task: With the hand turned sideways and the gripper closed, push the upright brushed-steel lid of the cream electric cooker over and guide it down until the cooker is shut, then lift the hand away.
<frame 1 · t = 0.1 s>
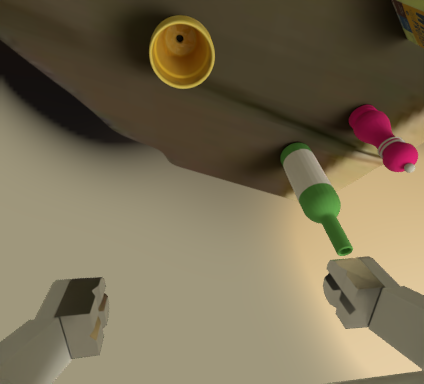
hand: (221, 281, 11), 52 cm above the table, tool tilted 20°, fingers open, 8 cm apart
wine bottle: (293, 152, 75), on the table
pepper mill: (361, 115, 69), on the table
plant pot: (180, 37, 53), on the table
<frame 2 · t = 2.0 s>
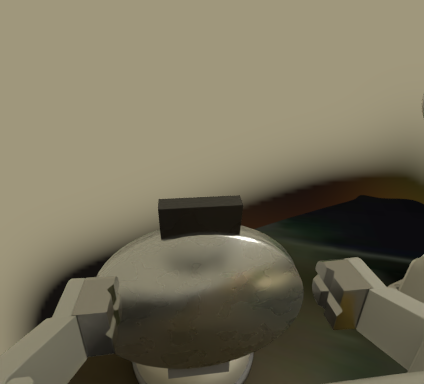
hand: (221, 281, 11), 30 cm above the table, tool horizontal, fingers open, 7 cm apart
lid: (199, 299, 23), point 20 cm above the table, hinge at 98.0°
cooker: (193, 345, 41), on the table
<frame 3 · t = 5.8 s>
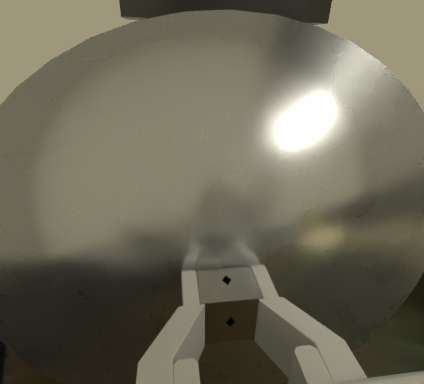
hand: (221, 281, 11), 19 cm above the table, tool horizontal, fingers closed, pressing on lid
lid: (217, 242, 11), point 20 cm above the table, hinge at 92.1°, touching gripper
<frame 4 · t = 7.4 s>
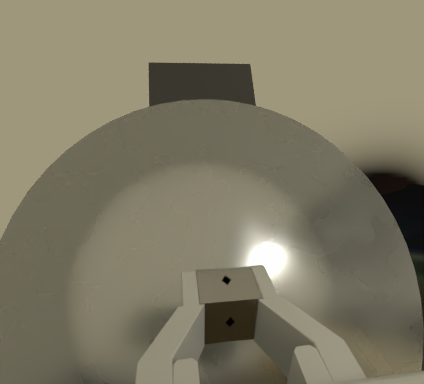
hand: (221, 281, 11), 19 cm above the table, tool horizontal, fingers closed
lid: (214, 259, 12), point 19 cm above the table, hinge at 47.5°
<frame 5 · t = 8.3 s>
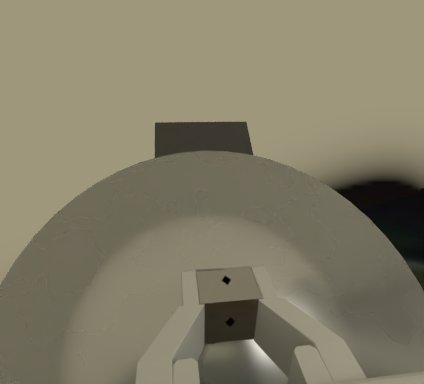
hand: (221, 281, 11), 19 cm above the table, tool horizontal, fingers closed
lid: (218, 304, 12), point 17 cm above the table, hinge at 33.1°, touching gripper
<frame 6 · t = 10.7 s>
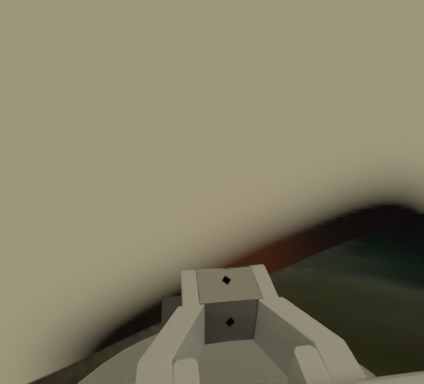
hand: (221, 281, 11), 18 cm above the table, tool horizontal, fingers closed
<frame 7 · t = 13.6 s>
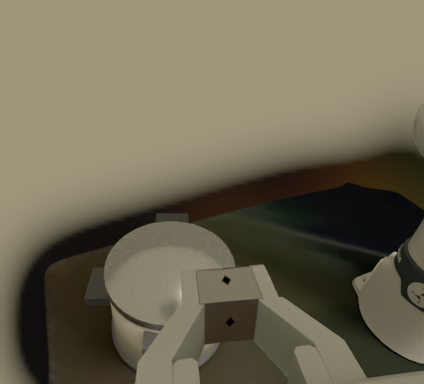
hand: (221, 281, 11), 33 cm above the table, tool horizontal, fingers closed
lid: (171, 260, 39), point 12 cm above the table, hinge at -0.2°
cooker: (169, 319, 45), on the table
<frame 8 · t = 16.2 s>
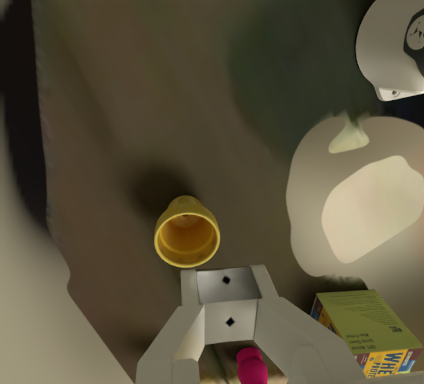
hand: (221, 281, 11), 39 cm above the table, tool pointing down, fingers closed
protein box: (339, 306, 71), on the table
pepper mill: (247, 354, 74), on the table
plant pot: (184, 210, 54), on the table
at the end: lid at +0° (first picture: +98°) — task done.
